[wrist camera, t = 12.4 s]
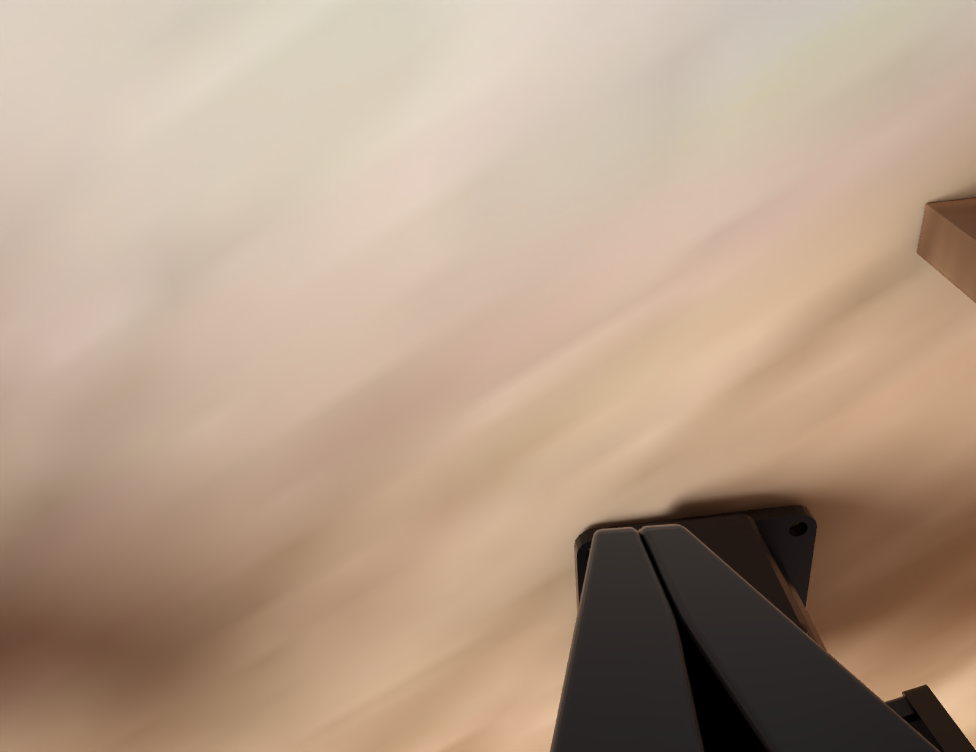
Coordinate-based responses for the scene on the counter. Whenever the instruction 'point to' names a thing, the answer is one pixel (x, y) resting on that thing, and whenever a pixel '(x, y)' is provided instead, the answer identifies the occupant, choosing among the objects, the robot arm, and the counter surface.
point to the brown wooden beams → (951, 242)
